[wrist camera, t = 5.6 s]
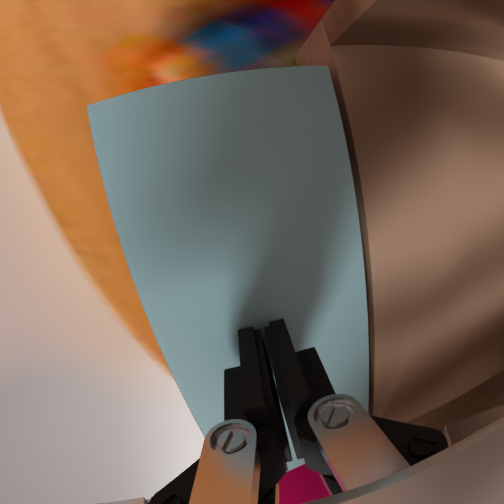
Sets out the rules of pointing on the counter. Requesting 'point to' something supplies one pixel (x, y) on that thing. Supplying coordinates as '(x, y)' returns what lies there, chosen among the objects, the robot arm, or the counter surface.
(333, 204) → the panel
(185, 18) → the counter surface
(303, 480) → the pepper mill
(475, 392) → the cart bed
